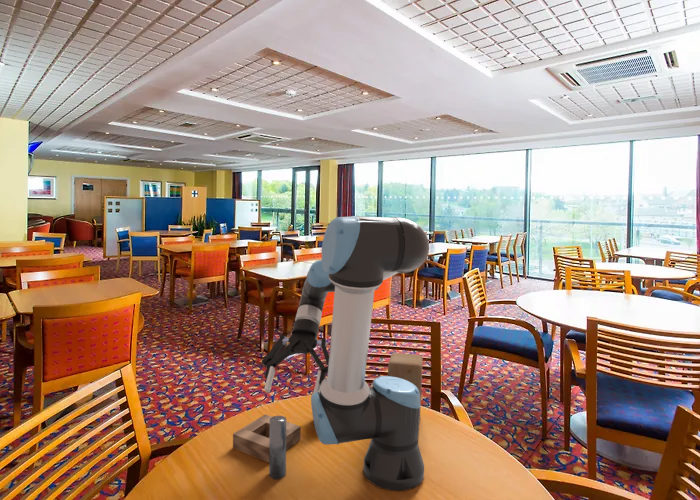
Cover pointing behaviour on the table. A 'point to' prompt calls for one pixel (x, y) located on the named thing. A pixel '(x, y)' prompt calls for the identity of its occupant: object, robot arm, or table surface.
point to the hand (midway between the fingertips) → (291, 393)
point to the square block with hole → (262, 437)
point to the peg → (277, 447)
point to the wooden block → (407, 369)
